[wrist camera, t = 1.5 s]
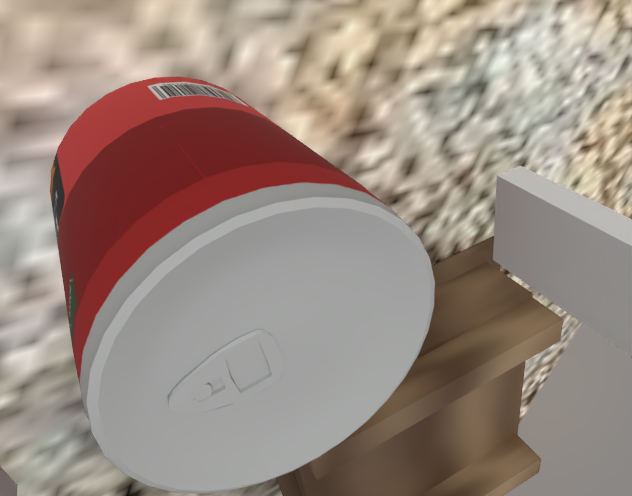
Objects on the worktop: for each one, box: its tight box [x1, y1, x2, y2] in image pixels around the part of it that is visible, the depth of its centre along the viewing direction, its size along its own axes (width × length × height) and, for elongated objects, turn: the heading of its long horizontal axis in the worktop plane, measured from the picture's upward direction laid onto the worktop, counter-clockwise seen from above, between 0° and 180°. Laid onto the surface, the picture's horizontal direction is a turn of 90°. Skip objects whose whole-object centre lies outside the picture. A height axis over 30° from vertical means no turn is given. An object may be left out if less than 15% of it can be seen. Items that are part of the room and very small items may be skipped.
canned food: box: [50, 77, 435, 494], centre depth 15 cm, size 8×8×11 cm
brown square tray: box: [277, 236, 563, 496], centre depth 30 cm, size 16×16×6 cm
